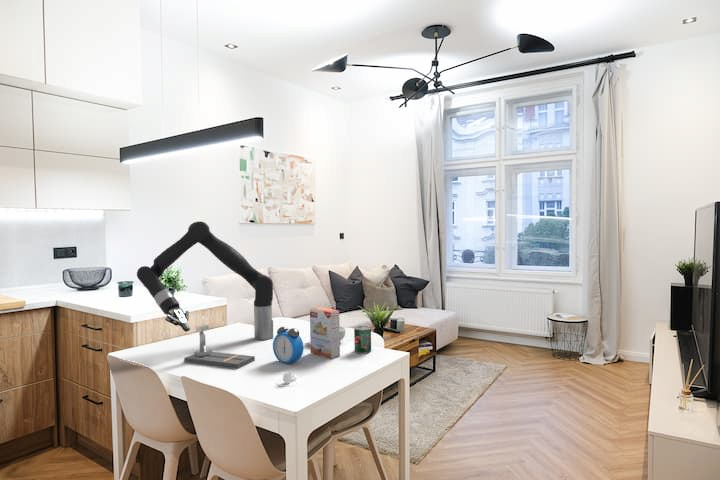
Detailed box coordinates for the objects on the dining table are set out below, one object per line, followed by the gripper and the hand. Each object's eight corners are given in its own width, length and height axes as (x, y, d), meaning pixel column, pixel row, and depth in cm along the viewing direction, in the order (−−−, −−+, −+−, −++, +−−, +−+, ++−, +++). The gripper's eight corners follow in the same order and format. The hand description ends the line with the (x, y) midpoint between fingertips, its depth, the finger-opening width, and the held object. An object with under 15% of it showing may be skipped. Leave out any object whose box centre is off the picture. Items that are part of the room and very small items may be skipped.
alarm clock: (272, 361, 198) (271, 327, 198) (282, 358, 203) (282, 324, 203) (294, 366, 191) (293, 330, 190) (304, 362, 196) (304, 328, 195)
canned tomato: (374, 351, 213) (374, 327, 213) (362, 354, 207) (362, 330, 207) (362, 348, 219) (362, 325, 218) (350, 351, 213) (350, 327, 213)
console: (184, 362, 199) (184, 357, 198) (203, 354, 210) (203, 350, 210) (237, 368, 188) (237, 363, 188) (254, 360, 199) (254, 356, 199)
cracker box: (309, 353, 210) (309, 308, 210) (319, 350, 215) (318, 306, 214) (330, 359, 201) (330, 311, 200) (340, 356, 205) (339, 309, 204)
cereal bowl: (333, 348, 218) (333, 334, 218) (305, 344, 226) (305, 330, 226) (351, 340, 233) (351, 327, 233) (324, 337, 241) (324, 323, 241)
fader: (194, 355, 201) (193, 326, 200) (202, 352, 206) (202, 324, 205) (203, 356, 199) (202, 327, 198) (211, 353, 204) (211, 325, 204)
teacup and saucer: (292, 378, 177) (292, 367, 177) (304, 383, 171) (304, 372, 171) (272, 383, 171) (272, 373, 171) (284, 389, 165) (284, 378, 165)
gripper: (159, 298, 202) (181, 327, 198) (181, 294, 214) (203, 321, 210) (150, 309, 204) (172, 339, 200) (173, 304, 216) (194, 332, 212)
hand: (188, 330), depth 205 cm, fingers closed
